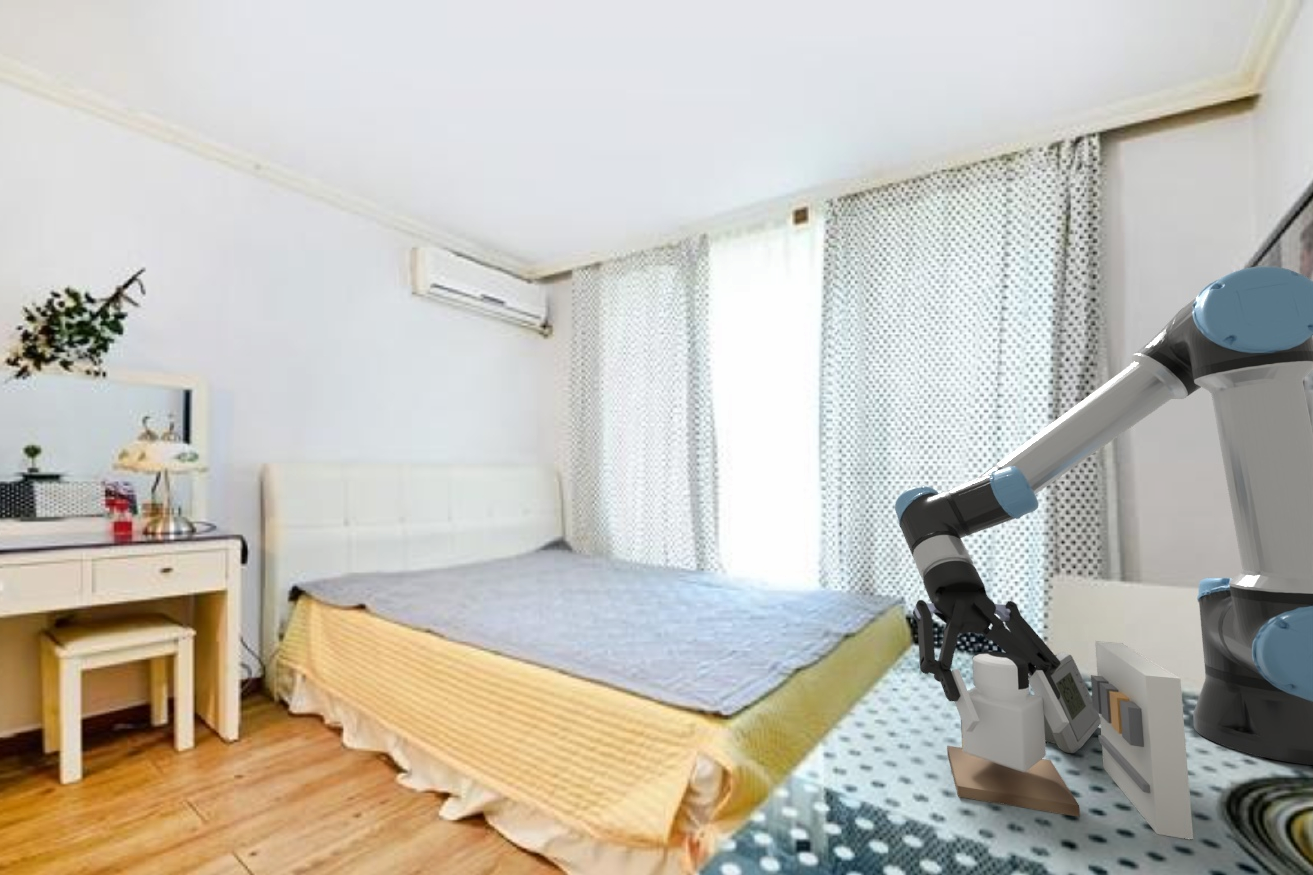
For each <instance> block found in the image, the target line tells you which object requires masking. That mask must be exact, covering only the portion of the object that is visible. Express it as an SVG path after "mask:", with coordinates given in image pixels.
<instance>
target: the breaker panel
mask: <svg viewBox="0 0 1313 875" xmlns="http://www.w3.org/2000/svg"><path fill="white" fill-rule="evenodd" d="M1094 642H1095V643H1094V647H1095V659H1096V661H1095V662H1096V673H1097V674H1096V675H1092V674H1091V675H1090V684H1091V698H1092V701H1093V708H1094V709H1095V710H1096V711H1097V712H1098V713H1099V716H1100V722H1101V724H1100V731H1101V732H1100V734H1098V736H1097V737H1098V742H1099V743H1100V744H1101V748H1102V749H1101V750H1102V764H1103V769H1104V771H1105V772H1106V773H1107V774H1108V775H1109V777H1110V778H1111V779H1112V781H1114V782H1113V783H1115V785H1117V787H1118V788H1119V789H1120V790H1121V792H1122V793H1123V794H1124V796H1125V797H1126V798H1127V799H1128V800H1129V802H1130V803H1131V804H1132V805H1133V807H1135V809H1136V810H1137V811H1138V812H1139V813H1140V815H1141V816H1142V817H1143V819H1144V820H1145V821H1146V822H1147V823H1148V825H1149V826H1150V827H1151V828H1152V830H1153V831H1154V832H1155V834H1156V835H1160V836H1167V837H1172V838H1179V839H1184V838H1185V840H1190V839H1193V840H1194V834H1193V832H1194V831H1193V822H1192V807H1191V805H1192V804H1191V794H1190V783H1189V771H1188V770H1189V769H1188V758H1187V755H1188V754H1187V744H1186V732H1185V731H1186V730H1185V719H1184V707H1183V706H1184V705H1183V694H1182V683H1181V682H1182V680H1181V677H1178V675H1176V674H1174V673H1172V672H1171V671H1169V670H1167V669H1165V668H1164V667H1162V666H1161V665H1159V664H1157V663H1156V662H1155V661H1152V660H1151V659H1150V658H1147V657H1146V656H1145V655H1142V654H1141V653H1140V652H1138V651H1136V650H1135V649H1133V648H1131V647H1129V646H1128V645H1127V644H1125V643H1123V642H1113V641H1111V642H1110V641H1097V640H1095V641H1094ZM1187 838H1189V839H1187Z"/></svg>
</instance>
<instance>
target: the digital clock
mask: <svg viewBox="0 0 1313 875" xmlns="http://www.w3.org/2000/svg"><path fill="white" fill-rule="evenodd" d="M1054 655H1055V656H1056V657H1057V658H1058V659H1059V661H1060V663H1061V664H1060V666H1059V667H1058V668H1057V669H1056V671H1055V672H1054V673H1053V674H1052V675H1051V677H1052V679H1053V681H1054V683H1055V685H1056V687H1057V689H1058V690H1059V692H1060V698H1059V700H1058V701H1059V703H1060V705H1061V707H1062V709H1063V711H1064V713H1065V715H1066V717H1067V719H1068V721H1069V723H1068V724H1067V726H1066V727H1065V728H1064V729H1063V730H1062V731H1061V732H1060V733H1053V731H1052V729H1051V727H1050V725H1049V723H1048V721H1047V719H1046V717H1045V715H1044V728H1045V742H1048V743H1051V744H1056V745H1057V747H1058V748H1059V749H1060V750H1061V751H1063V752H1065V753H1068V754H1074V753H1076V752H1077V751H1078V750H1080V749H1081V748H1082V747H1083V746H1084V745H1085V743H1086V742H1087V741H1088V740H1089V739H1090V737H1091V736H1092V735H1093V734H1094V732H1095V731H1096V730H1097V729H1098V728H1099V726H1101V722H1100V714H1099V713H1098V712H1097V711H1096V710H1095V709H1094V708H1093V701H1092V695H1091V694H1090V691H1089V690H1088V687H1087V685H1086V682H1085V681H1084V679H1083V677H1082V674H1081V672H1080V670H1079V668H1078V665H1077V663H1076V662H1075V660H1074V658H1073V656H1072V655H1071V654H1070V653H1067V652H1064V651H1062V652H1061V651H1060V652H1058V653H1056V654H1054ZM1028 675H1029V679H1030V678H1031V677H1032V676H1031V675H1030V674H1028Z"/></svg>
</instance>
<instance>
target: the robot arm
mask: <svg viewBox="0 0 1313 875" xmlns="http://www.w3.org/2000/svg"><path fill="white" fill-rule="evenodd" d="M1312 372H1313V280H1311V278H1309V277H1308V276H1306V275H1304V274H1301V273H1298V272H1296V271H1294V270H1292V269H1288V268H1285V267H1281V266H1280V267H1279V266H1268V265H1265V266H1264V265H1263V266H1260V265H1259V266H1251V267H1247V268H1242V269H1238V270H1236V271H1232V272H1230V273H1228V274H1225V276H1223V277H1221V278H1219V279H1216V280H1214V281H1212V282H1211V283H1209V284H1208V285H1207V286H1205V287H1204V288H1202V290H1201V291H1200V292H1199V293H1198V294H1197V296H1196V297H1195V298H1194V299H1193V300H1191V301H1190V302H1189V303H1188V304H1185V306H1184V307H1182V308H1181V309H1179V311H1178V312H1177V313H1176V314H1175V315H1174V316H1173V317H1172V318H1171V320H1169V322H1168V323H1167V324H1166V325H1165V326H1164V327H1163V328H1162V329H1161V330H1160V331H1159V332H1158V333H1157V334H1156V335H1155V336H1154V337H1153V338H1152V339H1151V340H1150V341H1148V342H1147V343H1146V344H1145V345H1144V346H1143V347H1141V348H1140V349H1138V350H1137V351H1136V352H1135V353H1133V354H1132V355H1130V364H1129V365H1128V366H1127V367H1125V368H1124V369H1123V370H1121V371H1120V372H1119V373H1117V374H1116V375H1115V376H1114V377H1112V378H1111V379H1110V380H1108V381H1107V382H1105V383H1104V384H1102V386H1100V387H1098V388H1097V389H1096V390H1095V391H1093V392H1092V393H1091V394H1089V395H1087V397H1085V398H1083V400H1081V401H1079V402H1078V403H1077V404H1075V406H1073V407H1072V408H1070V409H1069V410H1068V411H1066V412H1065V413H1063V414H1062V415H1061V416H1060V417H1058V418H1057V419H1055V420H1054V421H1053V422H1051V423H1050V424H1049V425H1047V426H1046V427H1045V428H1043V429H1042V430H1041V431H1039V432H1038V433H1036V434H1035V435H1033V437H1031V438H1030V439H1028V440H1026V442H1024V443H1022V444H1021V446H1019V447H1017V448H1016V449H1014V451H1012V452H1011V453H1009V454H1008V455H1007V456H1005V457H1004V458H1002V460H1000V461H999V462H997V463H996V464H995V465H994V466H992V467H991V468H989V469H988V470H987V471H985V472H983V474H981V475H980V476H979V477H977V478H975V479H972V480H970V481H967V482H965V483H963V484H961V485H959V486H956V487H954V488H952V489H949V490H945V491H942V492H938V491H937V490H936V489H934V488H933V487H931V486H926V485H924V486H921V487H917V486H915V487H911V488H908V489H907V490H905V491H904V492H902V493H901V494H899V496H898V498H896V501H895V503H894V511H895V513H896V517H897V519H898V525H899V528H900V529H901V532H902V534H903V537H904V539H905V541H906V544H907V546H908V549H909V551H910V553H911V555H912V559H913V560H914V563H915V566H916V568H917V570H918V573H919V575H920V578H921V580H922V583H923V585H924V586H923V587H924V588H925V590H926V593H927V596H928V598H929V600H930V602H929V603H926V601H925V600H922V599H918V600H917V601H916V604H915V606H914V607H913V610H912V614H913V617H914V620H915V622H916V623H917V634H918V635H917V637H918V653H919V654H918V655H919V657H918V658H919V670H920V672H921V673H923V674H924V675H928V674H932V675H933V678H934V680H936V681H937V682H940V684H941V687H942V690H943V693H944V696H945V698H946V699H947V700H948V702H954V704H955V707H956V710H957V712H958V716H959V717H960V721H961V720H962V723H963V726H964V728H965V731H966V732H972V731H973V730H974V728H975V727H976V726H977V724H978V723H979V722H980V721H979V718H978V716H977V713H976V711H975V708H974V706H973V703H972V701H971V698H970V696H969V693H968V689H967V687H966V686H967V685H966V684H965V681H964V679H963V676H962V674H961V671H960V669H957V668H953V669H951V668H952V664H953V661H954V660H953V659H954V655H955V650H956V646H957V641H958V635H959V634H960V635H965V634H971V633H972V634H975V635H983V636H984V638H986V640H988V641H992V642H994V643H995V645H997V647H999V648H1000V649H1001V650H1002V652H1003V653H1008V654H1012V655H1015V656H1018V657H1019V658H1021V659H1023V660H1025V661H1026V663H1027V664H1028V675H1029V674H1030V675H1031V676H1032V677H1031V678H1030V679H1029V687H1030V688H1031V690H1032V692H1033V695H1036V696H1040V697H1042V698H1043V708H1044V715H1045V717H1046V719H1047V721H1048V723H1049V725H1050V727H1051V729H1052V731H1053V733H1060V732H1061V731H1062V730H1063V729H1064V728H1065V727H1066V726H1067V724H1068V723H1069V721H1068V719H1067V717H1066V715H1065V713H1064V711H1063V709H1062V707H1061V705H1060V703H1059V701H1058V700H1059V698H1060V692H1059V690H1058V689H1057V687H1056V685H1055V683H1054V681H1053V679H1052V677H1051V675H1052V674H1053V673H1054V672H1055V671H1056V669H1057V668H1058V667H1059V666H1060V664H1061V663H1060V661H1059V659H1058V658H1057V657H1056V656H1055V655H1056V654H1054V652H1053V651H1052V650H1051V649H1050V648H1049V646H1048V645H1047V644H1046V643H1045V641H1043V639H1042V638H1041V637H1040V635H1038V633H1036V631H1035V630H1034V628H1033V627H1031V625H1030V624H1029V623H1028V622H1027V620H1026V619H1025V618H1024V617H1023V616H1022V614H1021V612H1020V610H1019V607H1018V605H1017V604H1016V603H1015V602H1014V601H1012V600H1008V601H1006V604H1000V603H995V602H994V601H993V599H990V597H989V596H988V595H987V592H986V588H985V584H984V582H983V580H982V577H981V576H980V574H979V572H978V570H977V568H976V566H975V565H974V561H973V559H972V557H971V555H970V553H969V552H968V550H967V548H966V546H965V544H964V542H963V540H962V538H965V537H968V536H971V535H973V534H975V533H978V532H981V531H984V530H988V529H990V528H993V527H996V526H998V525H1001V524H1004V523H1007V522H1010V521H1012V520H1014V519H1016V520H1018V519H1021V517H1023V516H1025V515H1027V514H1030V513H1032V512H1035V511H1036V510H1038V508H1039V501H1038V498H1037V496H1036V494H1038V493H1039V492H1041V491H1042V490H1044V489H1045V488H1046V487H1048V486H1049V485H1051V484H1052V483H1053V482H1054V481H1056V480H1058V479H1059V478H1061V477H1062V476H1064V475H1065V474H1066V473H1068V472H1069V471H1071V470H1072V469H1074V468H1076V466H1079V465H1080V464H1081V463H1082V462H1084V461H1085V460H1086V459H1088V458H1090V457H1091V456H1092V455H1094V454H1095V453H1096V452H1098V451H1099V450H1101V449H1102V448H1103V447H1105V446H1107V445H1108V444H1109V443H1111V442H1112V441H1113V440H1115V439H1116V438H1118V437H1120V436H1121V435H1122V434H1124V433H1126V431H1127V430H1129V429H1131V428H1132V427H1133V426H1135V425H1136V424H1138V423H1139V422H1140V421H1142V420H1144V419H1145V418H1146V417H1148V416H1149V415H1151V414H1152V413H1153V412H1155V411H1156V410H1158V409H1159V408H1160V407H1162V406H1164V405H1165V404H1166V403H1167V402H1169V401H1171V400H1184V399H1186V398H1187V397H1188V396H1190V395H1191V394H1193V393H1194V392H1196V391H1197V390H1200V389H1201V388H1202V389H1204V390H1205V391H1208V392H1209V393H1210V394H1211V400H1212V406H1213V411H1214V417H1215V422H1216V428H1217V433H1218V434H1217V435H1218V439H1219V444H1220V451H1221V456H1222V461H1223V467H1224V473H1225V478H1226V479H1225V480H1226V485H1227V490H1228V496H1229V502H1230V508H1231V513H1232V518H1233V525H1234V530H1235V536H1236V541H1237V546H1238V553H1239V558H1240V563H1241V570H1240V571H1239V573H1238V574H1236V575H1235V576H1234V577H1206V578H1203V579H1201V580H1200V581H1199V583H1198V595H1197V598H1196V599H1197V602H1198V604H1199V616H1200V619H1199V620H1200V629H1201V639H1202V651H1203V652H1202V653H1203V662H1204V670H1205V671H1204V673H1205V674H1204V675H1205V679H1204V682H1203V685H1202V688H1201V691H1200V693H1199V695H1198V699H1197V702H1196V705H1195V707H1194V710H1193V714H1192V715H1193V716H1192V717H1193V728H1194V730H1195V731H1196V733H1198V734H1199V735H1200V736H1202V737H1203V738H1206V739H1208V740H1210V741H1211V742H1213V743H1216V744H1218V745H1221V746H1224V747H1226V748H1229V749H1234V750H1236V751H1238V752H1242V753H1247V754H1250V755H1252V756H1253V755H1254V756H1258V757H1262V758H1267V759H1271V760H1275V761H1280V762H1281V761H1282V762H1286V763H1292V764H1302V765H1310V766H1313V427H1312V422H1311V416H1310V413H1309V412H1310V410H1309V407H1308V401H1307V397H1306V392H1305V386H1304V380H1305V379H1306V377H1307V376H1308V375H1309V374H1310V373H1312ZM934 615H935V616H936V617H937V618H938V619H940V620H941V621H942V622H944V623H945V627H944V630H943V631H944V632H943V638H942V643H941V647H940V652H939V656H938V659H936V654H935V653H936V652H935V639H934V638H935V637H934V630H933V629H934V626H933V616H934ZM991 625H992V626H991ZM990 626H991V628H990Z"/></svg>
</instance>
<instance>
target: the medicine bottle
mask: <svg viewBox="0 0 1313 875" xmlns="http://www.w3.org/2000/svg"><path fill="white" fill-rule="evenodd" d="M971 660H972V679H973V680H972V681H973V686H974V687H973V688H970V689H967V691H968V693H969V696H970V698H971V701H972V703H973V706H974V708H975V711H976V713H977V716H978V718H979V721H980V722H979V723H978V724H977V726H976V727H975V728H974V730H973V731H972V732H966V731H965V728H964V726H963V723H962V720H961V719H960V726H961V727H960V728H961V729H960V731H961V748H962V751H963V752H964V753H966V754H969V755H972V756H975V757H978V758H981V759H984V760H987V761H990V762H993V763H996V764H999V765H1003V766H1006V767H1009V768H1012V769H1015V770H1018V771H1021V772H1026V771H1027V770H1028V769H1030V768H1031V767H1032V766H1033V765H1035V764H1036V763H1037V762H1038V761H1040V760H1041V759H1045V757H1046V755H1047V754H1046V751H1047V748H1046V741H1045V728H1044V708H1043V698H1042V697H1040V696H1036V695H1034V694H1030V684H1029V674H1028V664H1027V663H1026V661H1025V660H1023V659H1021V658H1019V657H1018V656H1015V655H1012V654H1008V653H1006V652H1004V651H993V650H987V651H981V652H980V651H979V652H977V653H975V654H974V655H973V656H972V659H971Z"/></svg>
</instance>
